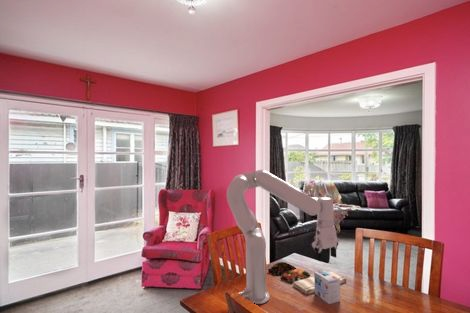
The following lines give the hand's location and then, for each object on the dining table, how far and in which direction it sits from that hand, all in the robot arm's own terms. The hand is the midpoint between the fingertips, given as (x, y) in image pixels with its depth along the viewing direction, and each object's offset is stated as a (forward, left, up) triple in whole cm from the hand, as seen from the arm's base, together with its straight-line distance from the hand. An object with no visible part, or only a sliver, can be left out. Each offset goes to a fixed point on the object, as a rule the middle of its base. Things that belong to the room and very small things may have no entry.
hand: (326, 258), depth 124 cm
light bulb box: (0, 0, -19) cm, 19 cm away
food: (0, +30, -19) cm, 35 cm away
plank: (+7, +11, -18) cm, 23 cm away
